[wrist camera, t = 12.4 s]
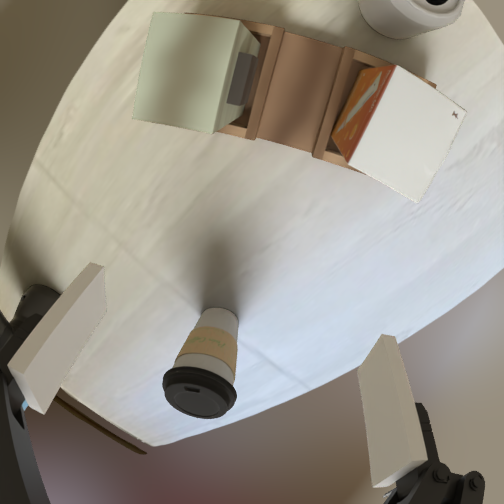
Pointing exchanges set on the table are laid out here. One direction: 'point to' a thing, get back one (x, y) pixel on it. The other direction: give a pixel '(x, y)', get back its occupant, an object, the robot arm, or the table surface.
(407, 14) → the can
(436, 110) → the small box
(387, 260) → the table surface
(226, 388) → the coffee cup
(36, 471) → the robot arm
